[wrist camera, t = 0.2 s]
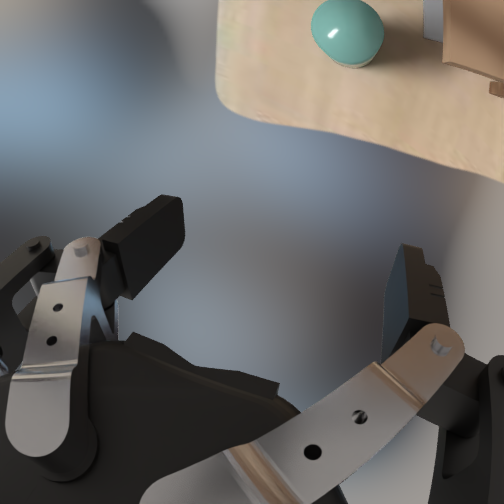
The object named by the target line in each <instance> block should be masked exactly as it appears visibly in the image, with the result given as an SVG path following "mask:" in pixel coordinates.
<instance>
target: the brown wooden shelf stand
mask: <svg viewBox="0 0 504 504" xmlns="http://www.w3.org/2000/svg"><path fill="white" fill-rule="evenodd" d="M442 63H445V64H448V65H452V66H455V67H458V68H461V69H465V70H468V71H471V72H474V73H477V74H480V75H482V76H485V77H488V78H491V79H493V80H496V81H499V82H490V88H489V93H490V94H493V95H496V96H498V97H503V98H504V0H443V60H442Z"/></svg>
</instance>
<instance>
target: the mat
mask: <svg viewBox="0 0 504 504" xmlns="http://www.w3.org/2000/svg"><path fill="white" fill-rule="evenodd" d="M423 11H424V36H423V38H426V39H430V40H434V41H438V42H441V43H443V0H423Z"/></svg>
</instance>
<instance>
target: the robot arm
mask: <svg viewBox="0 0 504 504" xmlns="http://www.w3.org/2000/svg"><path fill="white" fill-rule="evenodd" d="M184 239H185V226H184V214H183V203H182V200H181V198H179V197H175V196H169V195H160V196H158V197H157V198H155V199H154V200H153V201H151V202H150V203H149V204H147V205H146V206H144V207H141V208H139V209H136V210H135V211H134V212H132V213H131V214H130V215H128V217H126V218H124V219H123V220H122V221H121V223H118V224H116V225H115V226H114V227H112V228H111V229H110V230H109V231H107V232H106V233H105V234H103V235H102V236H101V237H100V238H98V239H97V238H94V237H83V238H79V239H77V240H75V241H73V242H71V243H70V244H68V245H67V246H66V247H65V249H64V250H62V249H59V250H58V249H53V246H52V243H51V240H50V238H49V237H47V236H39V237H35V238H32V239H30V240H28V241H27V242H25V243H24V244H23V245H21V246H20V247H19V248H18V249H17V250H15V251H14V252H13V253H12V254H11V255H10V256H8V257H7V258H6V259H5V260H4V261H2V262H1V263H0V504H348V503H347V501H346V498H345V497H344V494H343V492H342V490H341V488H340V486H339V484H341V483H342V482H343V481H344V480H346V479H347V478H348V477H349V476H350V475H352V474H353V473H354V472H356V471H357V470H358V469H359V468H360V467H362V466H363V465H364V464H365V463H366V462H367V461H369V460H370V459H371V458H372V457H373V456H374V455H375V454H376V453H378V452H379V451H380V450H381V449H382V448H383V447H384V446H385V445H386V444H387V443H388V442H389V441H390V440H392V439H393V438H394V437H395V436H396V434H398V433H399V432H400V431H401V430H402V428H404V427H405V426H406V424H408V423H409V422H410V421H411V419H412V418H413V417H414V416H415V415H417V416H419V417H421V418H423V419H425V420H427V421H429V422H431V423H433V424H436V425H438V426H439V432H438V442H437V452H436V459H435V466H434V473H433V479H432V485H431V490H430V495H429V501H428V504H504V355H498V356H495V357H493V358H492V359H491V360H490V362H489V363H488V364H484V363H483V362H481V361H478V360H476V359H475V358H473V357H471V356H469V355H467V354H466V353H465V348H464V343H463V341H462V339H461V338H460V336H459V335H458V334H457V333H456V332H455V331H454V330H453V329H451V328H450V324H449V318H448V313H447V306H446V301H445V298H444V291H443V289H442V288H443V286H442V282H441V277H440V275H439V274H438V272H437V271H436V270H435V268H434V267H433V266H431V265H427V264H425V260H424V255H423V250H422V248H419V247H415V246H411V245H407V244H403V243H402V244H401V245H400V246H399V249H398V252H397V255H396V258H395V261H394V264H393V267H392V270H391V272H390V276H389V279H388V281H387V285H386V289H385V294H384V317H383V336H382V351H381V364H379V363H378V362H377V361H376V362H373V363H371V364H370V365H368V366H367V367H366V368H364V369H363V370H362V371H360V372H359V373H358V374H357V375H355V376H354V377H353V378H351V379H350V380H348V381H347V382H346V383H344V384H343V385H341V386H340V387H339V388H337V389H336V390H335V391H333V392H332V393H330V394H329V395H327V396H326V397H324V398H323V399H321V400H320V401H319V402H317V403H315V404H314V405H313V406H311V407H310V408H308V409H306V410H305V411H303V412H302V413H301V412H300V411H299V410H298V409H297V408H296V407H294V406H293V405H292V404H291V403H289V402H288V401H286V400H285V399H284V398H282V397H280V396H278V395H277V394H278V389H279V384H280V383H277V382H274V381H270V380H266V379H263V378H260V377H257V376H253V375H250V374H247V373H243V372H240V371H232V370H223V369H215V368H206V367H199V366H194V365H193V364H191V363H189V362H188V361H186V360H185V359H184V358H182V357H181V356H179V355H178V354H177V353H175V352H174V351H172V350H171V349H170V348H168V347H167V346H166V345H164V344H162V343H159V342H157V341H154V340H152V339H150V338H147V337H145V336H142V335H140V334H137V333H135V332H133V333H132V334H131V335H130V336H129V338H128V339H127V340H126V341H119V339H118V302H117V298H118V297H119V296H123V297H125V298H128V299H130V300H133V299H134V298H135V297H136V296H137V295H138V293H139V292H140V291H141V290H142V289H143V288H144V287H145V286H146V285H147V284H148V283H149V281H150V280H151V279H152V278H153V277H154V276H155V275H156V274H157V273H158V272H159V271H160V270H161V269H162V268H163V266H164V265H165V264H166V263H167V262H168V261H169V260H170V259H171V258H172V257H173V256H174V255H175V254H176V253H177V252H178V251H179V250H180V248H181V247H182V245H183V243H184ZM29 280H30V281H31V284H32V286H33V288H34V290H35V293H36V295H37V296H36V297H35V298H34V299H33V300H32V301H31V302H30V303H29V304H28V305H27V306H26V307H25V308H24V309H23V310H22V311H21V312H20V313H19V314H18V315H17V314H16V313H15V311H14V309H13V307H12V299H13V296H14V295H15V293H16V292H18V291H19V289H21V288H22V287H23V286H24V285H25V284H26V283H27V282H28V281H29ZM22 361H23V362H22ZM21 362H22V366H21V368H20V370H17V371H15V370H16V369H17V367H18V366H19V365H20V364H21Z"/></svg>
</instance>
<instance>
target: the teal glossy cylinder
mask: <svg viewBox="0 0 504 504" xmlns="http://www.w3.org/2000/svg"><path fill="white" fill-rule="evenodd" d="M311 31H312V35H313V38H314V40H315V42H316V43H317V45H318V46H319V47H320V48H321V49H322V50H323V51H324V52H325V53H326V54H327V55H328V56H329V57H330V58H331V59H332V60H333V61H334V62H336V63H337V64H339V65H341V66H343V67H347V68H360V67H363V66H365V65H367V64H368V63H370V62H371V61H372V59H373V58H374V56H375V55H376V53H377V51H378V50H379V48H380V47H381V45H382V42H383V39H384V27H383V23H382V21H381V19H380V17H379V15H378V14H377V12H376V11H375V10H374V9H373V8H372V7H371V6H369V5H368V4H366V3H364V2H363V1H360V0H328V1H326V2H324V3H323V4H321V5H320V6H319V7H318V8H317V10H316V11H315V13H314V15H313V17H312V21H311Z"/></svg>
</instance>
